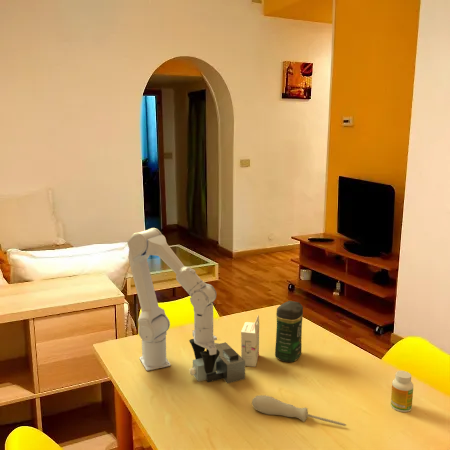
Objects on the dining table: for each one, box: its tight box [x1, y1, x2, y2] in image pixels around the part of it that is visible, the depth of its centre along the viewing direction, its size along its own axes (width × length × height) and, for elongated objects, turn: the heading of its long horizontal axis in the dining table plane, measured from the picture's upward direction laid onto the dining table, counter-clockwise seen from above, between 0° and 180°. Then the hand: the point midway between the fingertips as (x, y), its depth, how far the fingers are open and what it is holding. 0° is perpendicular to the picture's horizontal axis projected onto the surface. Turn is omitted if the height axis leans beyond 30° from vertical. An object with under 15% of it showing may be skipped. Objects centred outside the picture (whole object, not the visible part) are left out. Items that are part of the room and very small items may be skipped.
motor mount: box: [206, 342, 246, 384], centre depth 145 cm, size 16×11×7 cm
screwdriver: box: [251, 394, 347, 427], centre depth 122 cm, size 5×25×4 cm, turn 69°
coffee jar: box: [274, 300, 304, 363], centre depth 154 cm, size 10×8×19 cm
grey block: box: [189, 358, 217, 382], centre depth 142 cm, size 4×8×5 cm, turn 114°
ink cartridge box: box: [240, 314, 260, 367], centre depth 152 cm, size 9×5×15 cm, turn 168°
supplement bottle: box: [390, 370, 414, 413], centre depth 126 cm, size 5×5×10 cm
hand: (204, 366), depth 143 cm, fingers open, 7 cm apart
